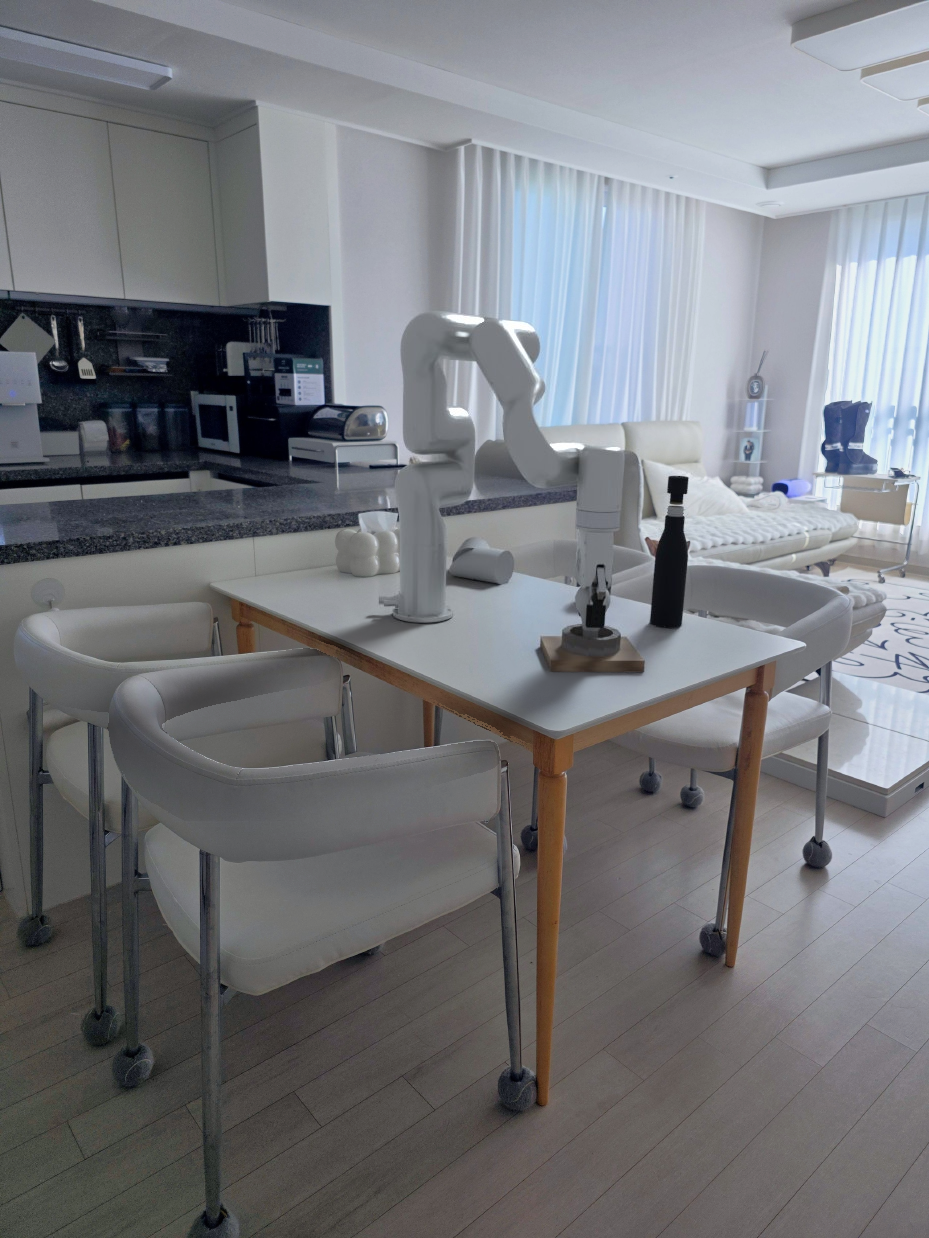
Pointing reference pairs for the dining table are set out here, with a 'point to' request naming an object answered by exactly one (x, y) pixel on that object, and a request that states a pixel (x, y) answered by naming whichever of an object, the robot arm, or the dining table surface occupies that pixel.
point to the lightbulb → (581, 605)
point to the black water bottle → (671, 561)
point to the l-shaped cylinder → (482, 562)
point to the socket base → (591, 651)
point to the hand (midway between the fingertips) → (591, 620)
